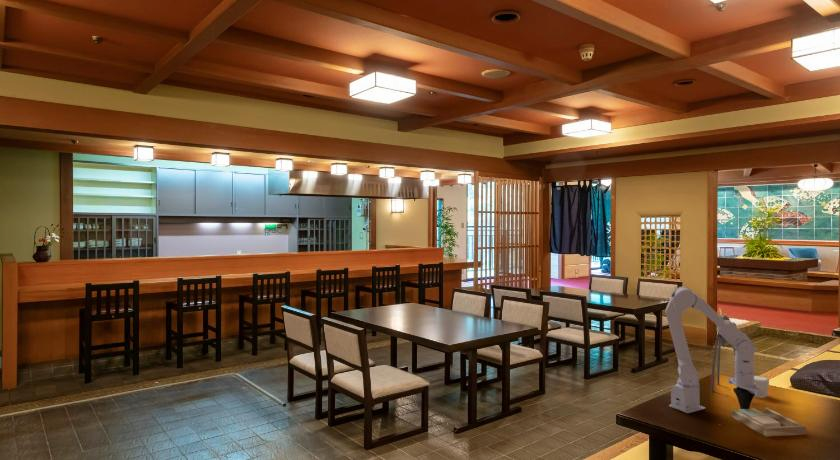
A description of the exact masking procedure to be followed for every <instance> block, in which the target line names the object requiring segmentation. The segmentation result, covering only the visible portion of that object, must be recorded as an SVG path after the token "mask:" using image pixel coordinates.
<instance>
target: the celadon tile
mask: <svg viewBox="0 0 840 460" xmlns="http://www.w3.org/2000/svg"><path fill="white" fill-rule="evenodd" d="M737 411H738V412H740V413H741V414H743V415H745V416H747V417H749V418H750V417H753V416H767V415H766V414H764V412H762V411H760V410H758V409H756V408H749V409H741V408H740V409H738V410H737Z"/></svg>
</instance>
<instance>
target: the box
mask: <svg viewBox="0 0 840 460" xmlns="http://www.w3.org/2000/svg"><path fill="white" fill-rule="evenodd" d="M763 413H764V414H766V415H767V416H768V417H770V418H772V419H774V420H776V421H778V422H780V426H779V427H765V426H763V425H762V424H760V423H758V422H756V421H754V420H752V419H751V418H749V417H747V416H745V415H743V414H741V413H740V412H738V410H736V409H731V410H730V417H731V418H732V417H733V419H734V420H736V421H737V422H739V423H741V424H743V425H744V426H747V428H748V427H749V428H750V429H752V430H753V431H755V432H757V433H759V434H760V435H762V436H764V437H765V438H766V437H769V438H770V437H781V436H782V437H783V436H785V437H786V436H799V435H800V436H801V435H806V434H807V433H806V432H807V431H806V426H805V425H803V424H801V423H799V422H797V421H795V420H793V419H791V418H789V417H788V416H785V415H782V413H779V412H777V411H774V410H773V409H770V408H769V407H764V408H763Z"/></svg>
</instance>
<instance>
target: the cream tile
mask: <svg viewBox="0 0 840 460" xmlns="http://www.w3.org/2000/svg"><path fill="white" fill-rule="evenodd" d="M750 418H751V419H752V420H754V421H756V422H758V423H760V424H762V425H763V426H765V427H779V426H781V423H780V422H778V421H776V420H774V419H772V418H770V417H768V416H753V417H750Z"/></svg>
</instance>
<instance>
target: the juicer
mask: <svg viewBox="0 0 840 460" xmlns="http://www.w3.org/2000/svg"><path fill="white" fill-rule="evenodd" d="M719 316H720V317H721V318H722V319H723V320H729V321H731V320H730V318H729V317H728V316H727V315H719ZM715 325H716V324H715ZM715 327H716V328H717V325H716V326H715ZM715 338H716V339H715V344H714V349H713V355H712V357H713V358H712V364H711V365H712V366H711V384H710V385H711V388H710V389H711V390H710V391H711V392H714V389H715V372H716V383H717V385H720V370H721V347H722V348H725V346H726V344H727V342H728V341H727V340H726V339H725V338H724V337H723V336H722V335H721V334H719V333H718V332H717V334H716V337H715ZM732 349H733V353H734V354H733V355H735V350H736V349H735V348H734V347H733V345H732ZM716 359H717V361H716ZM716 362H717V366H716ZM716 367H717V368H716ZM715 370H717V371H715Z"/></svg>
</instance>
